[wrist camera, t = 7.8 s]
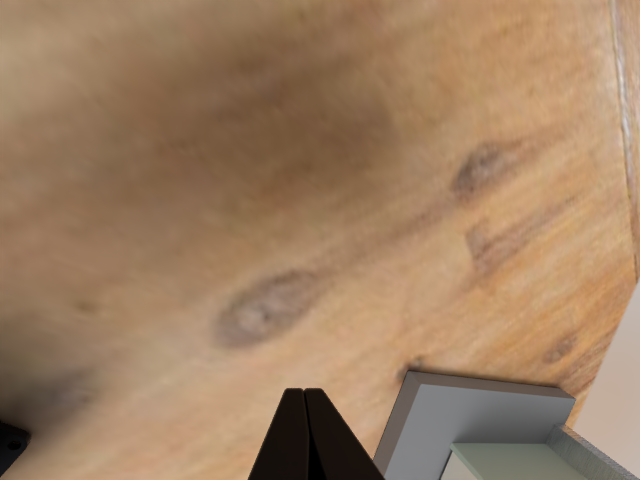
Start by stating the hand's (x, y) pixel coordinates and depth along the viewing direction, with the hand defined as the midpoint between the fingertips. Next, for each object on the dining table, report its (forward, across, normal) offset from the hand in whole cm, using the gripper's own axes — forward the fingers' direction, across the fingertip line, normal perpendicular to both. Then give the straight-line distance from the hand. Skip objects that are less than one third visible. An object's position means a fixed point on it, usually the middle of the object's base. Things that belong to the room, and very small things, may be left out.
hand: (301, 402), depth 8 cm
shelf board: (+13, -16, +20) cm, 28 cm away
